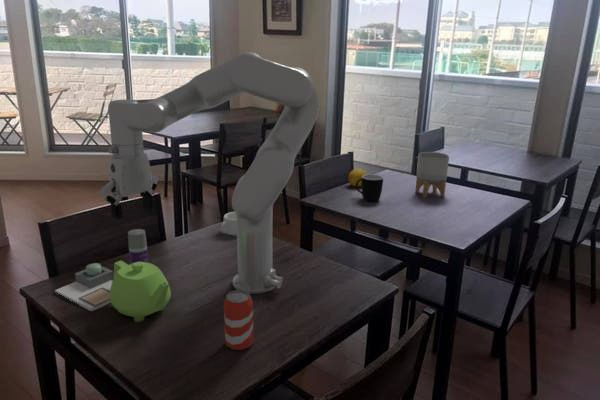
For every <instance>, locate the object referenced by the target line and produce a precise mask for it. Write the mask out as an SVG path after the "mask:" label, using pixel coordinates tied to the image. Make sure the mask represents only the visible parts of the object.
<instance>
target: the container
mask: <svg viewBox="0 0 600 400" xmlns="http://www.w3.org/2000/svg"><path fill="white" fill-rule="evenodd" d="M146 236H147V235H146V230H145V229H142V228H137V229H131V230H129V231H128V232H127V240H128V252H129V253H128V254H129V262H130V264H133V263H135V262H146V263H149V255H148V245H147V237H146ZM130 264H129V265H130Z"/></svg>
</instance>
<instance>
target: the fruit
mask: <svg viewBox="0 0 600 400" xmlns="http://www.w3.org/2000/svg"><path fill="white" fill-rule="evenodd" d="M367 174H368V173H367V172H366V171H365V170H364V169H362V168H355V169H352V170H351V171H350V172H349V173H348V182H349V184H350V185H351V186H353V187H355V188H356V182H357V181H358V180H359V179H362V176H363V175H367ZM359 187H362V181H359V182H358V188H359Z"/></svg>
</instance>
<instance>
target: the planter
mask: <svg viewBox="0 0 600 400" xmlns="http://www.w3.org/2000/svg"><path fill="white" fill-rule="evenodd" d="M449 161H450V155H448V154H446V153H442V152H436V151H435V152H434V151H424V152H423V151H422V152H419V153H418V156H417V164H416V165H417V166H416V167H417V168H416V176H415V177H416V180H415V193H419V192H420V190H421V188H422V187H423V189H422V198H423V199H427V198H428V192H429V190H430V187H431V186H432V192H434V193H436V192H437V191H439V194H440V197H439V198H445V193H446V185H447V177H448V169H449V163H450V162H449Z"/></svg>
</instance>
